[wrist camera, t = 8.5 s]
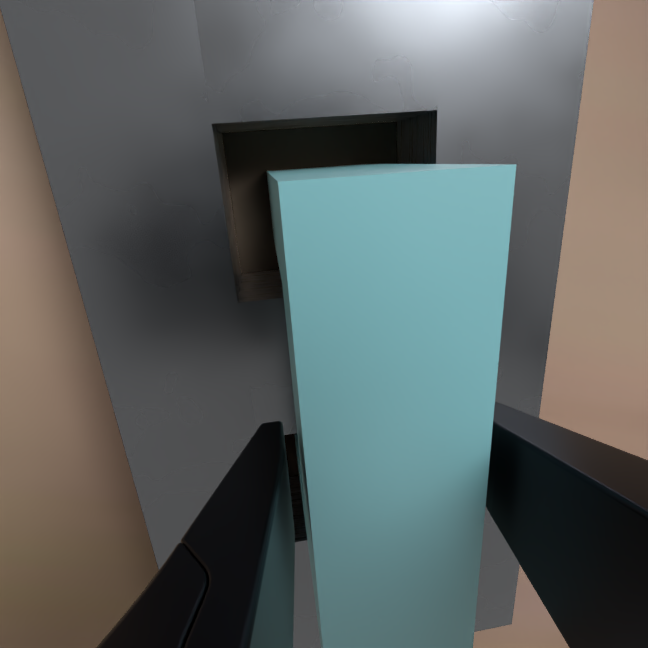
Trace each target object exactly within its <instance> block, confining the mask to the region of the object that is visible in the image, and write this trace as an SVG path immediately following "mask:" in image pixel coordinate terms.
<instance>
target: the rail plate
mask: <svg viewBox="0 0 648 648" xmlns="http://www.w3.org/2000/svg"><path fill="white" fill-rule="evenodd" d="M593 2H594V0H0V8H1V12H2V15H3V19H4V22H5V26H6V30H7V33H8V37H9V40H10V44H11V47H12V51H13V54H14V58H15V61H16V65H17V69H18V72H19V76H20V79H21V83H22V86H23V90H24V93H25V97H26V100H27V104H28V108H29V111H30V115H31V118H32V122H33V125H34V129H35V132H36V136H37V140H38V143H39V147H40V150H41V154H42V157H43V161H44V164H45V168H46V171H47V175H48V179H49V182H50V186H51V189H52V193H53V196H54V200H55V203H56V207H57V210H58V214H59V218H60V221H61V225H62V228H63V232H64V235H65V239H66V242H67V246H68V249H69V253H70V257H71V260H72V264H73V267H74V271H75V274H76V278H77V281H78V285H79V288H80V292H81V296H82V299H83V303H84V306H85V310H86V313H87V317H88V320H89V324H90V327H91V331H92V335H93V338H94V342H95V345H96V349H97V352H98V356H99V359H100V363H101V367H102V370H103V374H104V377H105V381H106V384H107V388H108V391H109V395H110V398H111V402H112V406H113V409H114V413H115V416H116V420H117V423H118V427H119V430H120V434H121V437H122V441H123V445H124V448H125V452H126V455H127V459H128V462H129V466H130V469H131V473H132V476H133V480H134V484H135V487H136V491H137V494H138V498H139V501H140V505H141V508H142V512H143V515H144V519H145V523H146V526H147V530H148V533H149V537H150V540H151V544H152V547H153V551H154V554H155V558H156V562H157V565H158V569H160V568H161V567H162V565H163V564H164V563H165V561H166V560H167V558H168V557H169V556H170V554H171V553H172V551H173V550H174V548H175V547H176V546H177V544H178V543H181V542H180V541H181V539H182V537H183V536H184V534H185V533H186V531H187V530H188V529H189V527H190V526H191V524H192V523H193V521H194V520H195V519H196V517H197V516H198V514H199V513H200V511H201V510H202V508H203V507H204V506H205V504H206V503H207V501H208V500H209V498H210V497H211V495H212V494H213V493H214V491H215V490H216V488H217V487H218V485H219V484H220V483H221V481H222V480H223V478H224V477H225V475H226V474H227V472H228V471H229V470H230V468H231V467H232V465H233V464H234V462H235V461H236V460H237V458H238V457H239V455H240V454H241V452H242V451H243V449H244V448H245V447H246V445H247V444H248V442H249V441H250V439H251V438H252V436H253V435H254V434H255V432H256V431H257V429H258V428H259V426H260V425H261V424H262V423H267V422H275V421H281V422H282V424H283V430H284V435H288V434H295V433H297V425H296V415H295V405H294V396H293V386H292V376H291V366H290V356H289V346H288V336H287V327H286V317H285V307H284V297H283V287H282V279H281V274H280V270H272V271H262V272H252V273H241V266H240V259H239V252H238V245H237V238H236V230H235V223H234V216H233V209H232V202H231V195H230V187H229V180H228V173H227V166H226V159H225V152H224V144H223V137H222V133H226V132H242V131H258V130H273V129H289V128H305V127H321V126H336V125H352V124H368V123H384V122H397V164H516V174H515V185H514V196H513V207H512V218H511V230H510V241H509V252H508V263H507V274H506V285H505V296H504V307H503V318H502V329H501V340H500V351H499V362H498V373H497V384H496V395H495V401H496V402H498V403H501V404H503V405H506V406H509V407H511V408H514V409H516V410H519V411H522V412H524V413H527V414H529V415H532V416H534V417H537V418H539V412H540V404H541V397H542V389H543V381H544V374H545V366H546V359H547V351H548V344H549V336H550V328H551V321H552V313H553V306H554V298H555V290H556V283H557V275H558V268H559V260H560V252H561V245H562V237H563V230H564V222H565V214H566V207H567V199H568V192H569V184H570V176H571V169H572V161H573V154H574V146H575V138H576V131H577V123H578V116H579V108H580V101H581V93H582V85H583V78H584V70H585V63H586V55H587V47H588V40H589V32H590V25H591V17H592V9H593ZM289 483H290V492H291V502H292V511H293V520H294V532H295V573H294V626H293V648H321V643H320V635H319V627H318V620H317V612H316V604H315V596H314V589H313V581H312V573H311V565H310V557H309V550H308V542H307V534H306V526H305V519H304V511H303V503H302V495H301V488H300V480H299V476H295V477H289ZM518 571H519V562H518V560H517V559H516V557H515V555H514V554H513V552H512V550H511V549H510V547H509V545H508V544H507V542H506V540H505V538H504V537H503V535H502V533H501V532H500V530H499V528H498V527H497V525H496V523H495V522H494V520H493V518H492V517H491V515H490V513H489V511H488V510H487V508H486V506H485V517H484V528H483V539H482V550H481V561H480V572H479V583H478V594H477V606H476V617H475V628H474V632H476V631H481V630H485V629H490V628H495V627H500V626H505V625H510V624H512V617H513V609H514V602H515V594H516V586H517V579H518Z"/></svg>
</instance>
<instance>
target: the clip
mask: <svg viewBox="0 0 648 648" xmlns="http://www.w3.org/2000/svg"><path fill="white" fill-rule="evenodd" d="M515 174H516V164H357V165H343V166H329V167H314V168H300V169H286V170H272V171H267V179H268V189H269V199H270V208H271V218H272V227H273V237H274V243H275V249H276V254H277V259H278V264H279V269H280V274H281V279H282V287H283V297H284V307H285V317H286V327H287V336H288V346H289V356H290V366H291V376H292V386H293V396H294V405H295V415H296V425H297V433H295V434H294V438H295V447H296V456H297V464H298V472H299V480H300V488H301V495H302V503H303V511H304V519H305V526H306V534H307V542H308V550H309V557H310V565H311V573H312V581H313V589H314V596H315V604H316V612H317V620H318V627H319V635H320V643H321V648H473V639H474V628H475V617H476V606H477V594H478V583H479V572H480V561H481V550H482V539H483V528H484V517H485V506H486V495H487V484H488V473H489V462H490V451H491V440H492V429H493V418H494V406H495V395H496V384H497V373H498V362H499V351H500V340H501V329H502V318H503V307H504V296H505V285H506V274H507V263H508V252H509V241H510V230H511V218H512V207H513V196H514V185H515Z"/></svg>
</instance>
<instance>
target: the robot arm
mask: <svg viewBox="0 0 648 648" xmlns="http://www.w3.org/2000/svg"><path fill="white" fill-rule="evenodd" d="M486 508H487V510H488V511H489V513H490V515H491V517H492V518H493V520H494V522H495V523H496V525H497V527H498V528H499V530H500V532H501V533H502V535H503V537H504V538H505V540H506V542H507V544H508V545H509V547H510V549H511V550H512V552H513V554H514V555H515V557H516V559H517V560H518V562H519V564H520V565H521V567H522V569H523V570H524V572H525V574H526V575H527V577H528V579H529V580H530V582H531V584H532V585H533V587H534V589H535V590H536V592H537V594H538V595H539V597H540V599H541V600H542V602H543V604H544V606H545V607H546V609H547V611H548V612H549V614H550V616H551V617H552V619H553V621H554V622H555V624H556V626H557V627H558V629H559V631H560V632H561V634H562V636H563V637H564V639H565V641H566V642H567V644H568V646H569V647H570V648H648V460H646V459H643V458H640V457H638V456H635V455H633V454H630V453H627V452H625V451H622V450H620V449H617V448H614V447H612V446H609V445H607V444H604V443H602V442H599V441H596V440H594V439H591V438H589V437H586V436H583V435H581V434H578V433H576V432H573V431H571V430H568V429H565V428H563V427H560V426H558V425H555V424H552V423H550V422H547V421H545V420H542V419H540V418H537V417H534V416H532V415H529V414H527V413H524V412H522V411H519V410H516V409H514V408H511V407H509V406H506V405H503V404H501V403H498V402H496V401H495V406H494V418H493V429H492V440H491V451H490V462H489V473H488V484H487V495H486ZM180 542H181V543H178V544H177V546H176V547H175V548H174V550H173V551H172V553H171V554H170V556H169V557H168V558H167V560H166V561H165V563H164V564H163V565H162V567H161V568H160V569H159V571H158V572H157V574H156V575H155V576H154V578H153V579H152V580H151V582H150V583H149V584H148V586H147V587H146V588H145V590H144V591H143V592H142V593H141V595H140V596H139V597H138V598H137V600H136V601H135V602H134V603H133V605H132V606H131V607H130V608H129V609H128V611H127V612H126V613H125V614H124V616H123V617H122V618H121V619H120V620H119V622H118V623H117V624H116V625H115V626H114V628H113V629H112V630H111V631H110V632H109V634H108V635H107V636H106V637H105V638H104V639H103V641H102V642H101V643H100V644H99V645H98V646H97V648H293V626H294V573H295V532H294V520H293V511H292V502H291V492H290V483H289V474H288V465H287V456H286V447H285V439H284V430H283V424H282V422H281V421H275V422H267V423H262V424H261V425H260V426H259V428H258V429H257V431H256V432H255V434H254V435H253V436H252V438H251V439H250V441H249V442H248V444H247V445H246V447H245V448H244V449H243V451H242V452H241V454H240V455H239V457H238V458H237V460H236V461H235V462H234V464H233V465H232V467H231V468H230V470H229V471H228V472H227V474H226V475H225V477H224V478H223V480H222V481H221V483H220V484H219V485H218V487H217V488H216V490H215V491H214V493H213V494H212V495H211V497H210V498H209V500H208V501H207V503H206V504H205V506H204V507H203V508H202V510H201V511H200V513H199V514H198V516H197V517H196V519H195V520H194V521H193V523H192V524H191V526H190V527H189V529H188V530H187V531H186V533H185V534H184V536H183V537H182V539H181V541H180Z"/></svg>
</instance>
